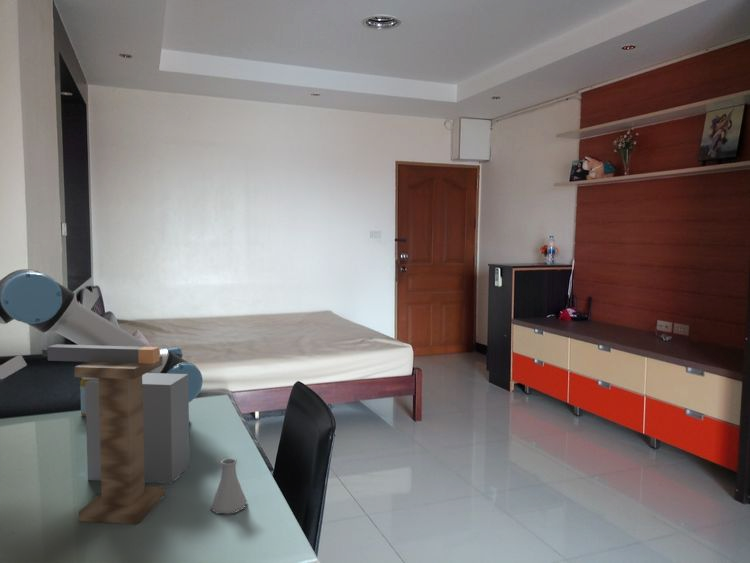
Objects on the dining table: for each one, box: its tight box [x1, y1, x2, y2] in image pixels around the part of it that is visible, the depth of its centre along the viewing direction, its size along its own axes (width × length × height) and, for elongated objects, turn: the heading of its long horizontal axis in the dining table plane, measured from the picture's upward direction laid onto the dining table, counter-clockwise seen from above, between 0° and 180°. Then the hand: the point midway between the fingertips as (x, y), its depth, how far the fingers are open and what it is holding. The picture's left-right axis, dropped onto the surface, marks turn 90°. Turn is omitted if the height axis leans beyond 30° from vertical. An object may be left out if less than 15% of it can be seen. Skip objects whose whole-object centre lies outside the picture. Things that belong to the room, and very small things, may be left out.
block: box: [85, 373, 190, 484], centre depth 132 cm, size 20×10×23 cm, turn 86°
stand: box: [73, 356, 166, 525], centre depth 114 cm, size 12×12×31 cm
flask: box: [210, 457, 248, 514], centre depth 116 cm, size 7×7×10 cm
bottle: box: [79, 377, 94, 418], centre depth 175 cm, size 7×7×15 cm
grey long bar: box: [41, 343, 160, 364], centre depth 113 cm, size 24×3×3 cm, turn 86°
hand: (0, 367), depth 115 cm, fingers open, 13 cm apart
